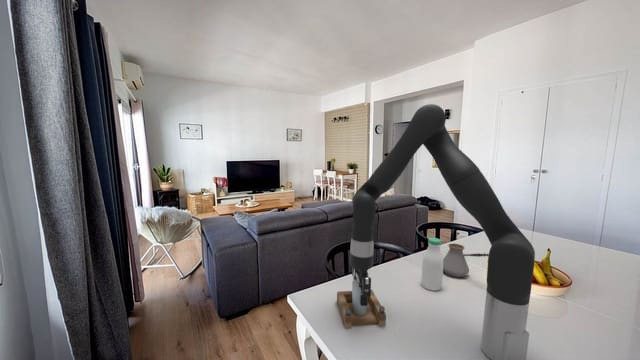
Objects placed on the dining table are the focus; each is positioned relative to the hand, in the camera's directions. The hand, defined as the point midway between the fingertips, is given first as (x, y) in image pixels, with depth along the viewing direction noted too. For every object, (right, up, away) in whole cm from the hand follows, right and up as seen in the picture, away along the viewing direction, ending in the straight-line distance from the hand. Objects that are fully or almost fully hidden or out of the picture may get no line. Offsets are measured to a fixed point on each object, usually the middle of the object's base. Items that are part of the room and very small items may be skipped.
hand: (360, 297), depth 87 cm
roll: (0, -5, +1) cm, 5 cm away
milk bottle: (+32, -4, +19) cm, 37 cm away
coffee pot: (+49, -3, +26) cm, 56 cm away
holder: (0, -6, +1) cm, 6 cm away
